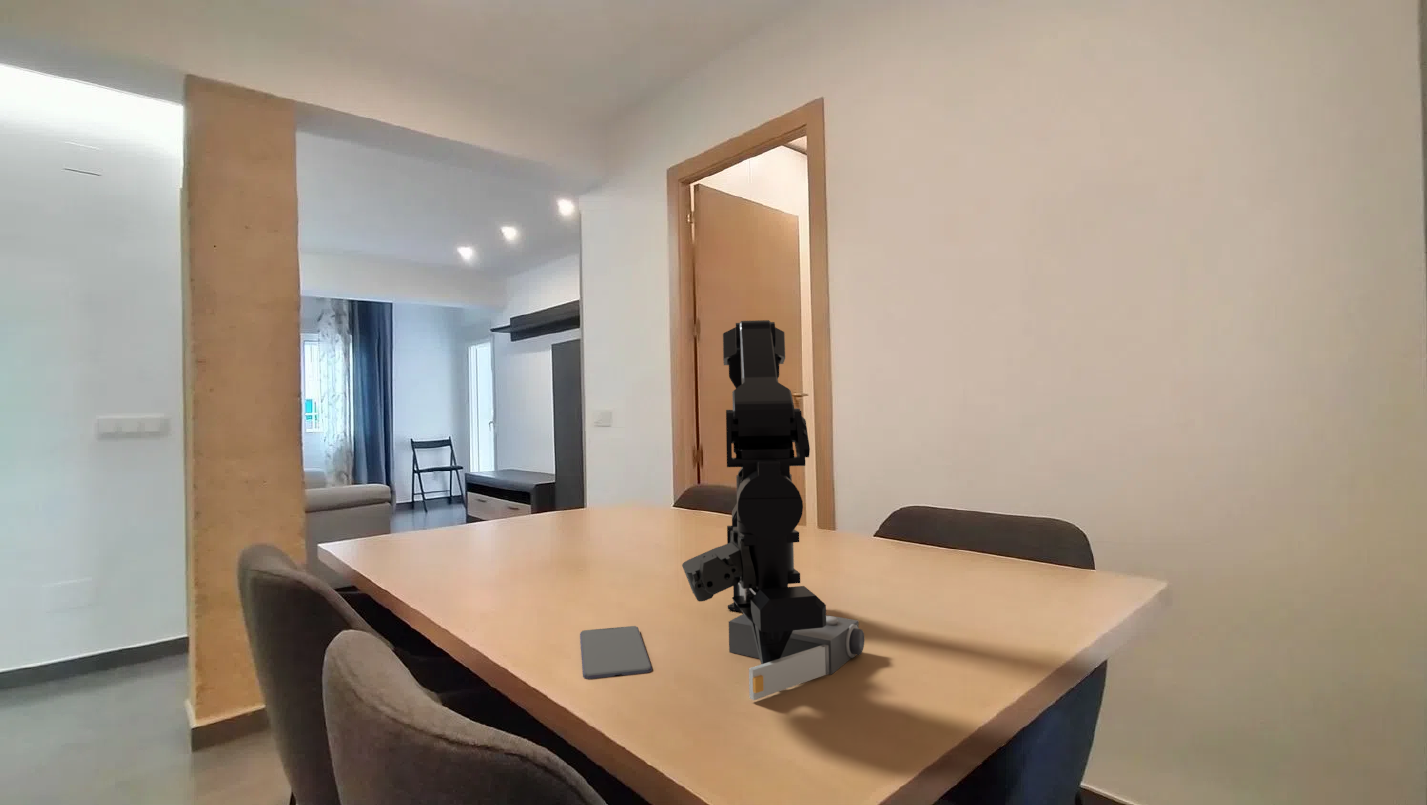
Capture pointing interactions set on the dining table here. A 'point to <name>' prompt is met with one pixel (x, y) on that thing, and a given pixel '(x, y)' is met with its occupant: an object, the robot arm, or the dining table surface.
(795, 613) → the robot arm
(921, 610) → the dining table surface
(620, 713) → the dining table surface
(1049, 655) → the dining table surface
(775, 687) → the side door
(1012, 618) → the dining table surface
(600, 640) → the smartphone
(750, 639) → the block
